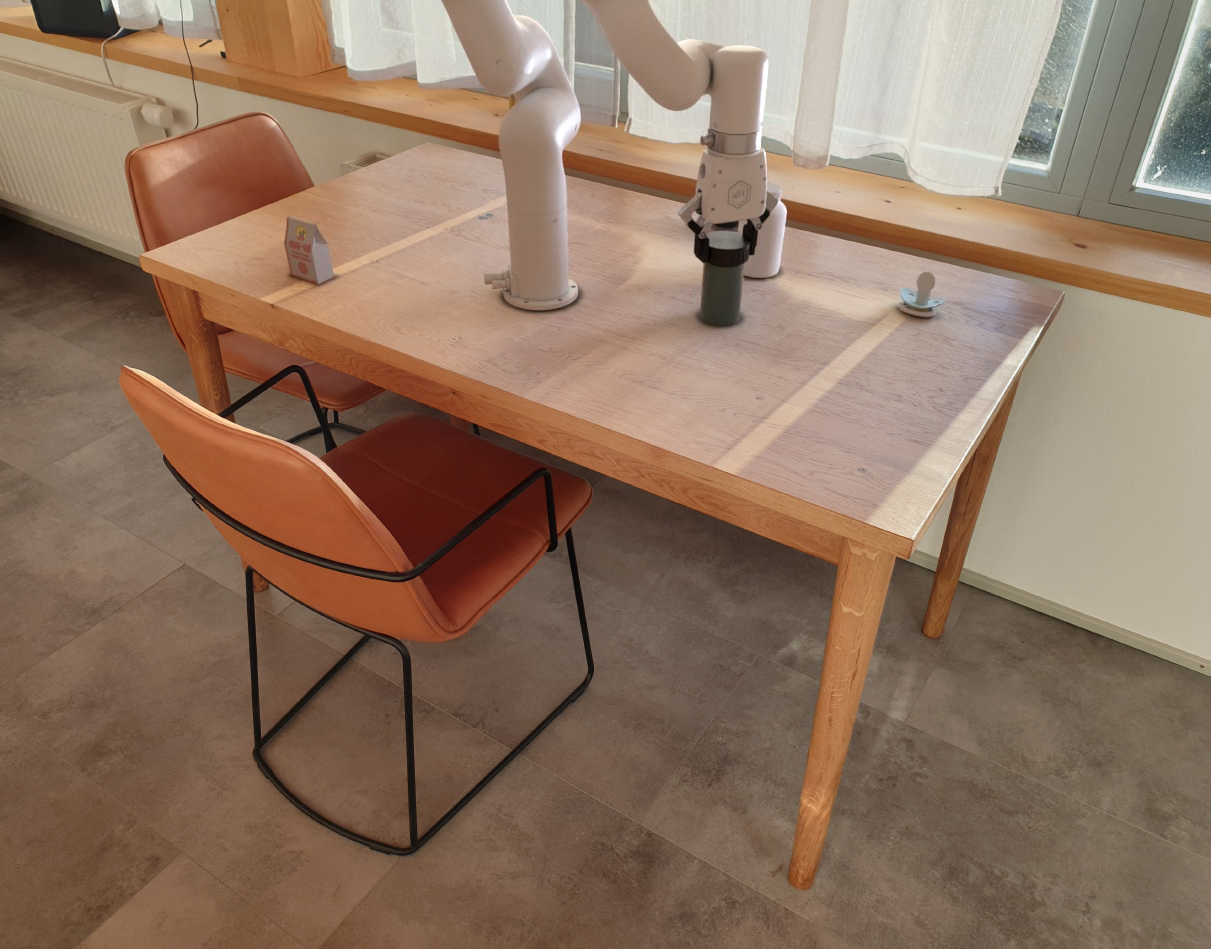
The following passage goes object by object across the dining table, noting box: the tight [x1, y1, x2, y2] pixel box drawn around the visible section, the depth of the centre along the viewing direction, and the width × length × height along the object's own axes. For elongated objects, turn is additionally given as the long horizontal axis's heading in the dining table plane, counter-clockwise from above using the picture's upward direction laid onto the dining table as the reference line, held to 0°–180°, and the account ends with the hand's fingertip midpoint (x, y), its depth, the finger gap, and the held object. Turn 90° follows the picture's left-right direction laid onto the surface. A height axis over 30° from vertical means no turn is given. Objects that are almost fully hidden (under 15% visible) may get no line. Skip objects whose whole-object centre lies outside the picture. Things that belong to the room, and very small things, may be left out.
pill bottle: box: [737, 181, 788, 279], centre depth 162 cm, size 8×8×15 cm
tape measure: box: [713, 221, 739, 230], centre depth 182 cm, size 7×7×4 cm
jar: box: [699, 263, 745, 327], centre depth 148 cm, size 6×6×12 cm
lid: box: [707, 230, 750, 267], centre depth 145 cm, size 8×8×3 cm
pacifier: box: [896, 271, 947, 318], centre depth 152 cm, size 7×6×6 cm
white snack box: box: [283, 216, 335, 285], centre depth 161 cm, size 4×7×10 cm, turn 58°
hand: (724, 255), depth 145 cm, fingers closed on lid, 7 cm apart
